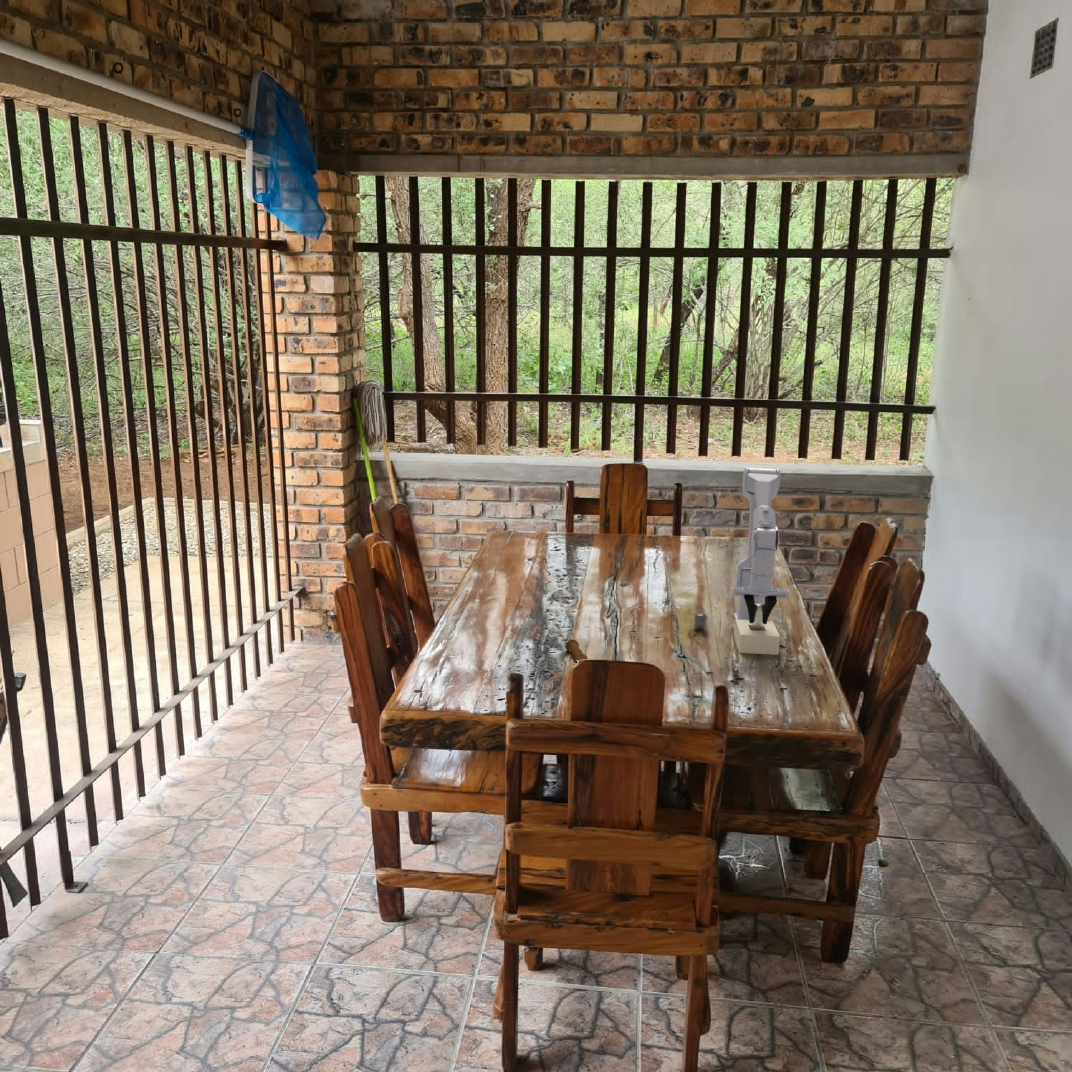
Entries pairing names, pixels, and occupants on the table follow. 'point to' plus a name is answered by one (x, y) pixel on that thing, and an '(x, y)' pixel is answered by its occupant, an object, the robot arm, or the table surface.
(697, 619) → the short pin
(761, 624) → the long pin
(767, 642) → the hole block
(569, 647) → the primitive tool
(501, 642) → the table surface
